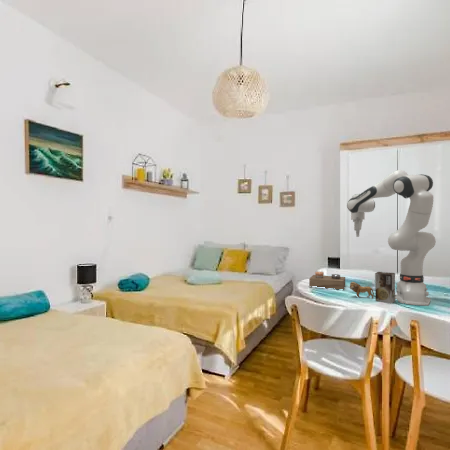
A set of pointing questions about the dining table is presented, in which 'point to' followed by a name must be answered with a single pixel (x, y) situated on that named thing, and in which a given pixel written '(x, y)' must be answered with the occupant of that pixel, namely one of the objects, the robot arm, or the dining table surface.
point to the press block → (327, 282)
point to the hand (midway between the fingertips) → (357, 236)
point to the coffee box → (385, 287)
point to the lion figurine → (361, 289)
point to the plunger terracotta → (319, 274)
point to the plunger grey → (335, 276)
